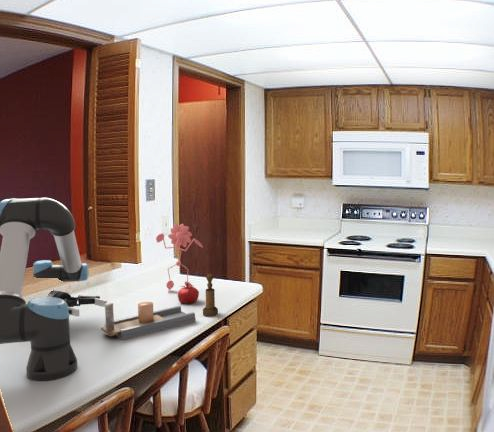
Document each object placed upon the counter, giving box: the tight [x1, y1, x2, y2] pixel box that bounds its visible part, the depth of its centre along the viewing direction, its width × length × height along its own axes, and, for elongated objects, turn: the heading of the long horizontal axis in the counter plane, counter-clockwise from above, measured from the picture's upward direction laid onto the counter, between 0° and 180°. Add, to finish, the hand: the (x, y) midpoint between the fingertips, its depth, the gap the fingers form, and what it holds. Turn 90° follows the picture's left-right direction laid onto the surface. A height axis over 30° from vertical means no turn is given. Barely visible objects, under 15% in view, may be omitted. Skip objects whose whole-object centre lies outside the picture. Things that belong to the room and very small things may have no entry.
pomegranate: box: [177, 283, 200, 304], centre depth 222 cm, size 10×10×9 cm
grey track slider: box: [100, 302, 164, 337], centre depth 185 cm, size 24×9×11 cm, turn 128°
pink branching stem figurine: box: [155, 223, 204, 294], centre depth 241 cm, size 15×26×35 cm, turn 76°
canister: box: [137, 301, 154, 323], centre depth 188 cm, size 6×6×7 cm
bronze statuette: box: [202, 273, 219, 318], centre depth 203 cm, size 7×6×18 cm
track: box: [114, 305, 196, 341], centre depth 190 cm, size 32×14×4 cm, turn 128°
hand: (92, 308), depth 184 cm, fingers open, 13 cm apart
